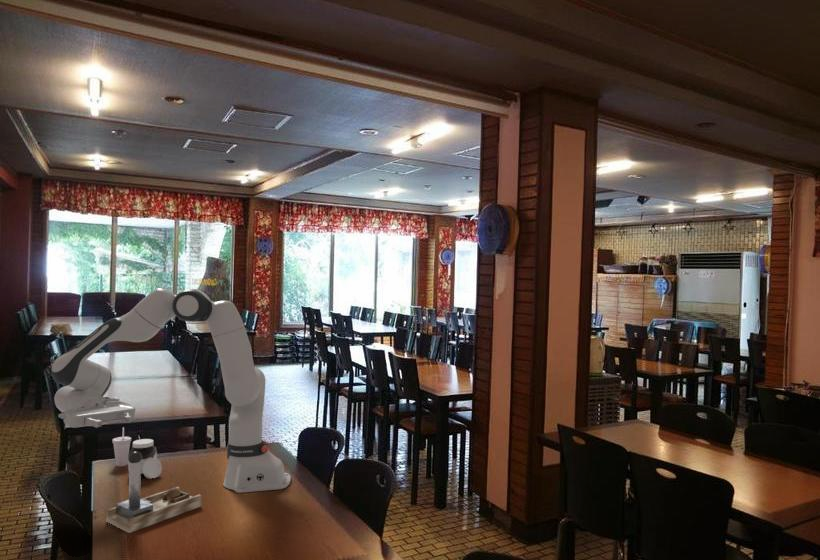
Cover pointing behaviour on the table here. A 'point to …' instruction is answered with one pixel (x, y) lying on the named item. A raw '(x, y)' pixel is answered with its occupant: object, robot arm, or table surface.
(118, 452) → the smoothie
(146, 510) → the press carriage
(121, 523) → the press base
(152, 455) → the spread jar
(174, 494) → the walnut
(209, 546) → the table surface
